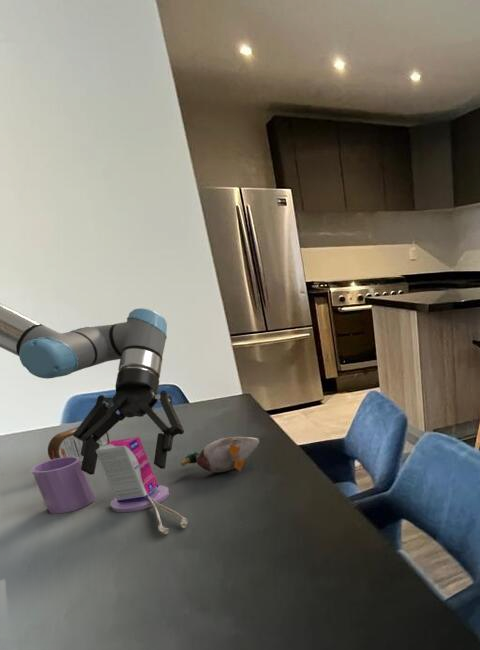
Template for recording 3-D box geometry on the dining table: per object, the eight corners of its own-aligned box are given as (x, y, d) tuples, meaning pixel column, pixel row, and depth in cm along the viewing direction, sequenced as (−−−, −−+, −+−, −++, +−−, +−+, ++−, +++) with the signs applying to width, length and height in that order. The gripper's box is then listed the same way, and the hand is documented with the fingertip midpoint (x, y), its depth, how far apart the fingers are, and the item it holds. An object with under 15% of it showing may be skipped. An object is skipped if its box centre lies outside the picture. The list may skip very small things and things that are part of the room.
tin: (106, 448, 131) (95, 418, 128) (116, 448, 131) (105, 418, 127) (54, 472, 118) (40, 439, 115) (64, 472, 117) (51, 439, 114)
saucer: (107, 517, 94) (106, 513, 94) (115, 496, 103) (113, 492, 103) (168, 503, 98) (167, 499, 98) (170, 484, 107) (169, 480, 107)
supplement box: (146, 498, 98) (123, 445, 93) (117, 503, 97) (92, 450, 93) (160, 486, 103) (139, 435, 99) (132, 490, 103) (110, 440, 98)
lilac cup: (43, 517, 96) (25, 475, 92) (53, 501, 102) (37, 461, 99) (90, 507, 99) (75, 466, 95) (97, 492, 105) (82, 453, 102)
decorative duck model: (168, 449, 109) (222, 425, 121) (180, 479, 112) (232, 453, 124) (212, 450, 102) (265, 425, 115) (224, 482, 105) (275, 454, 117)
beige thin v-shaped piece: (190, 526, 89) (187, 516, 88) (162, 536, 86) (158, 527, 85) (162, 498, 101) (160, 489, 100) (137, 507, 98) (134, 498, 97)
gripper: (207, 380, 108) (197, 470, 100) (89, 389, 107) (70, 481, 99) (191, 361, 101) (179, 456, 93) (65, 370, 100) (42, 467, 92)
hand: (123, 469), depth 96 cm, fingers open, 13 cm apart
